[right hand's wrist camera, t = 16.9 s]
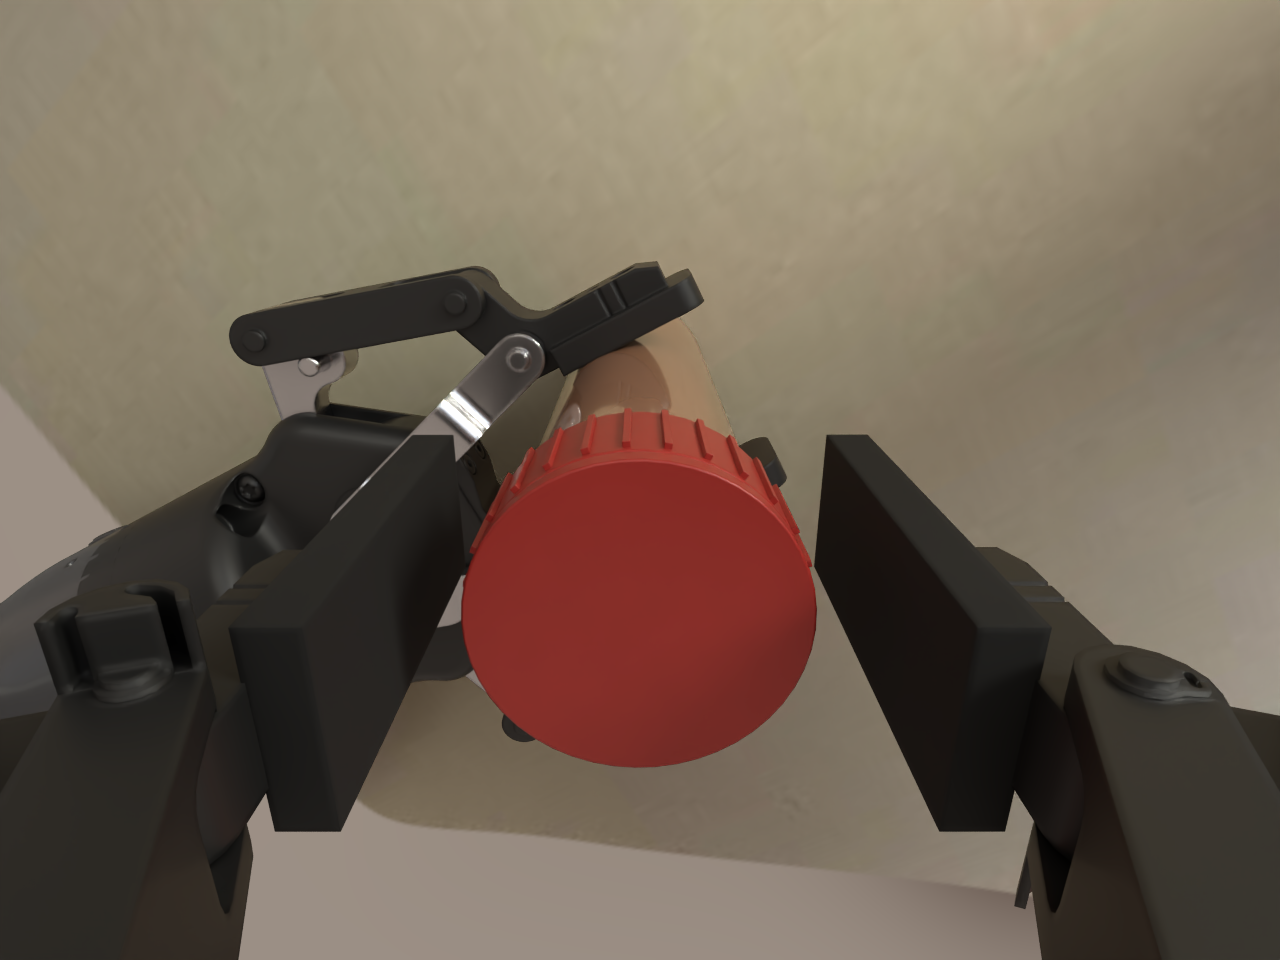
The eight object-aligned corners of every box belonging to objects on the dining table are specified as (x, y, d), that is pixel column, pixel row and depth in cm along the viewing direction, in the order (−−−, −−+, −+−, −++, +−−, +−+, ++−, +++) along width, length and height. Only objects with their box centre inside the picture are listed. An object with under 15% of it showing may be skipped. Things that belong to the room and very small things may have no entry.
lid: (608, 725, 13) (602, 823, 11) (423, 522, 12) (377, 591, 10) (846, 582, 12) (889, 662, 10) (676, 340, 11) (685, 375, 9)
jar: (680, 286, 24) (741, 418, 10) (717, 406, 26) (817, 677, 11) (557, 327, 25) (442, 512, 10) (600, 443, 26) (553, 749, 12)
